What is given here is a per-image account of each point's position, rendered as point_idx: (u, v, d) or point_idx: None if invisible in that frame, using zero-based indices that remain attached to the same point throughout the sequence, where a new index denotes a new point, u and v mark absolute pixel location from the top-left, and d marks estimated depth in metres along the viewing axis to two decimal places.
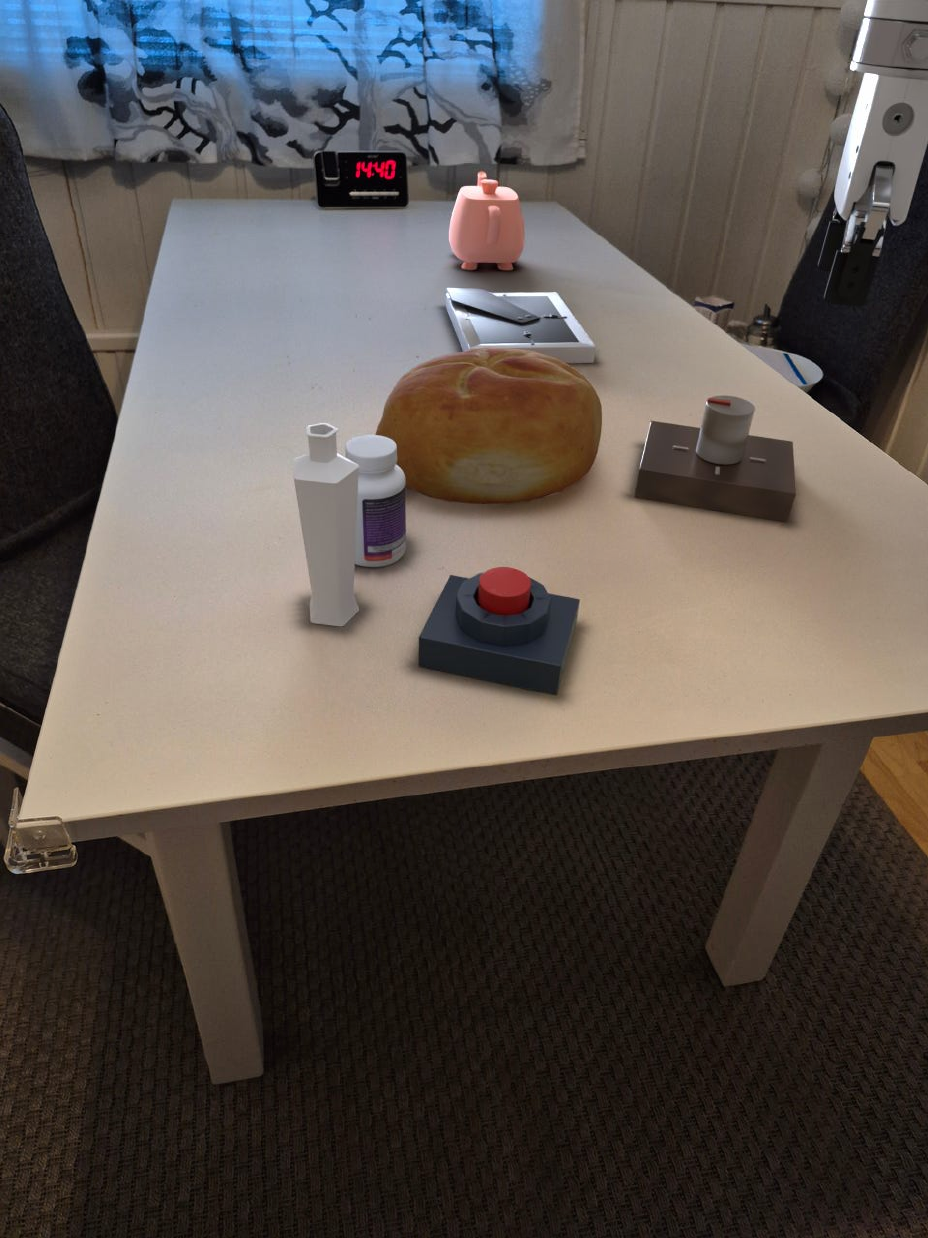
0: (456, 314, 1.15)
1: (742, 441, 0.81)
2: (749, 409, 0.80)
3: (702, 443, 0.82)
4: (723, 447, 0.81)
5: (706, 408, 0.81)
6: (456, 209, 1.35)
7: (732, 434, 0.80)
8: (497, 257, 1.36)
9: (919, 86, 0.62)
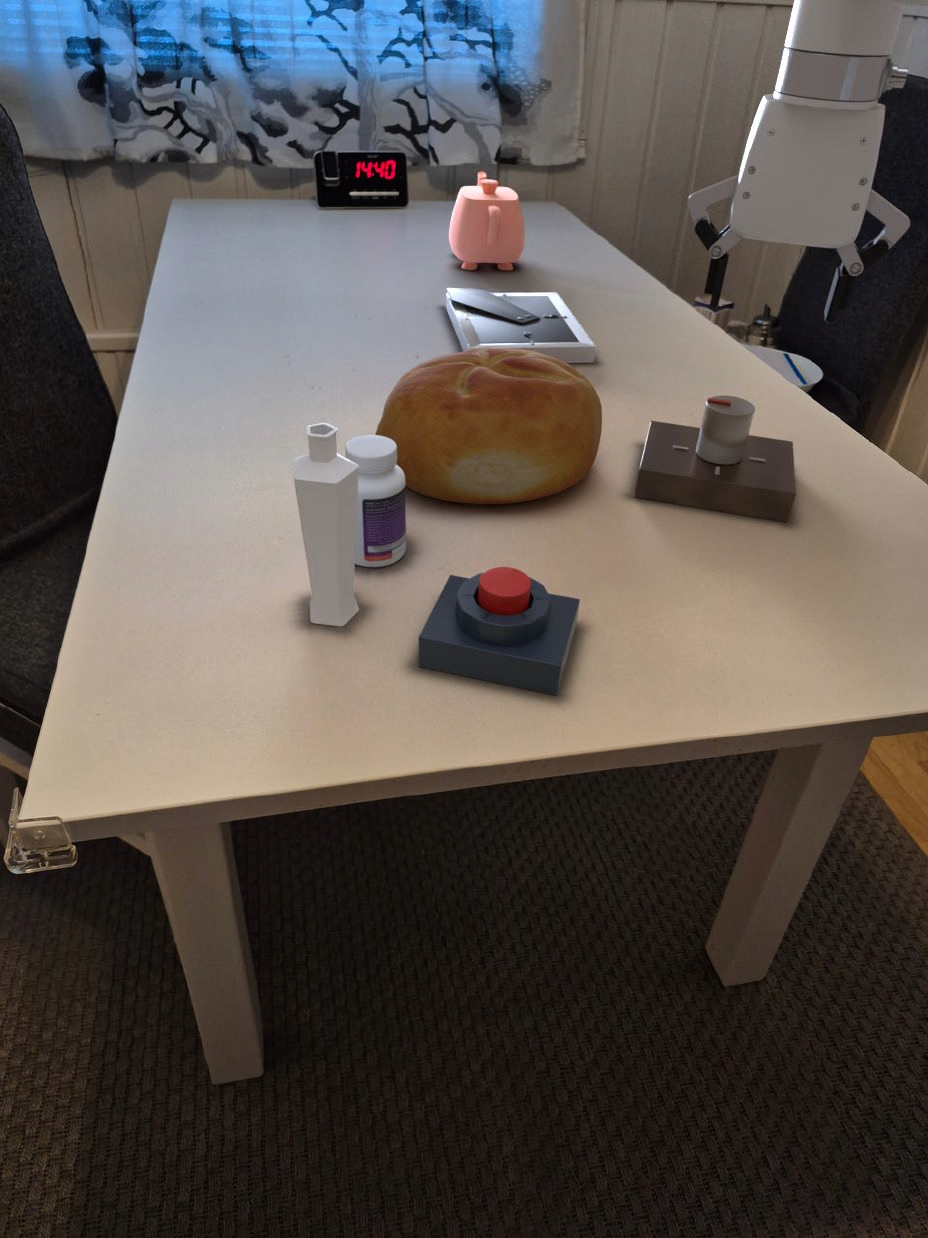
0: (456, 314, 1.15)
1: (742, 441, 0.81)
2: (749, 409, 0.80)
3: (702, 443, 0.82)
4: (723, 447, 0.81)
5: (706, 408, 0.81)
6: (456, 209, 1.35)
7: (732, 434, 0.80)
8: (497, 257, 1.36)
9: None
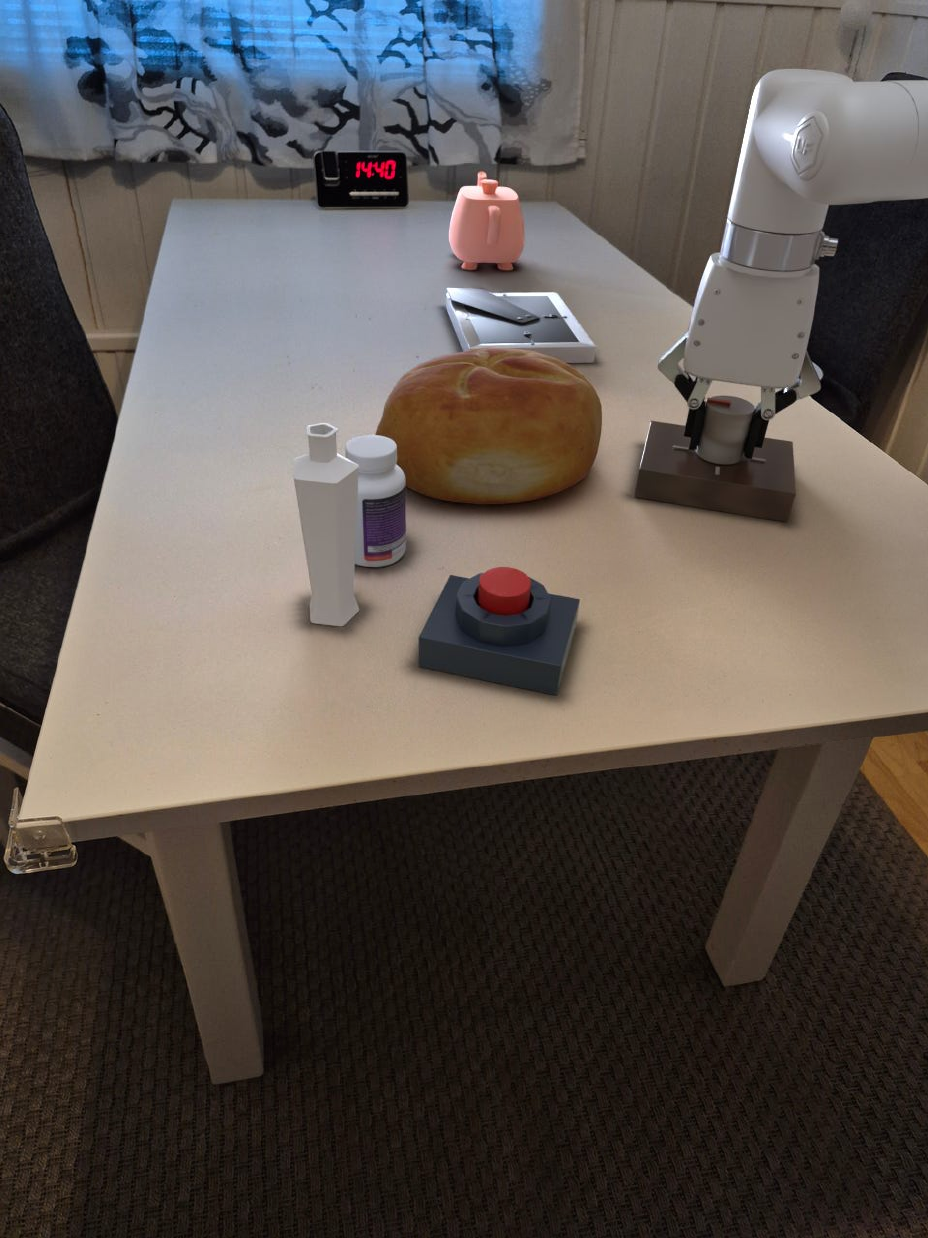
0: (456, 314, 1.15)
1: (742, 441, 0.81)
2: (749, 409, 0.80)
3: (702, 443, 0.82)
4: (723, 447, 0.81)
5: (706, 408, 0.81)
6: (456, 209, 1.35)
7: (732, 434, 0.80)
8: (497, 257, 1.36)
9: None
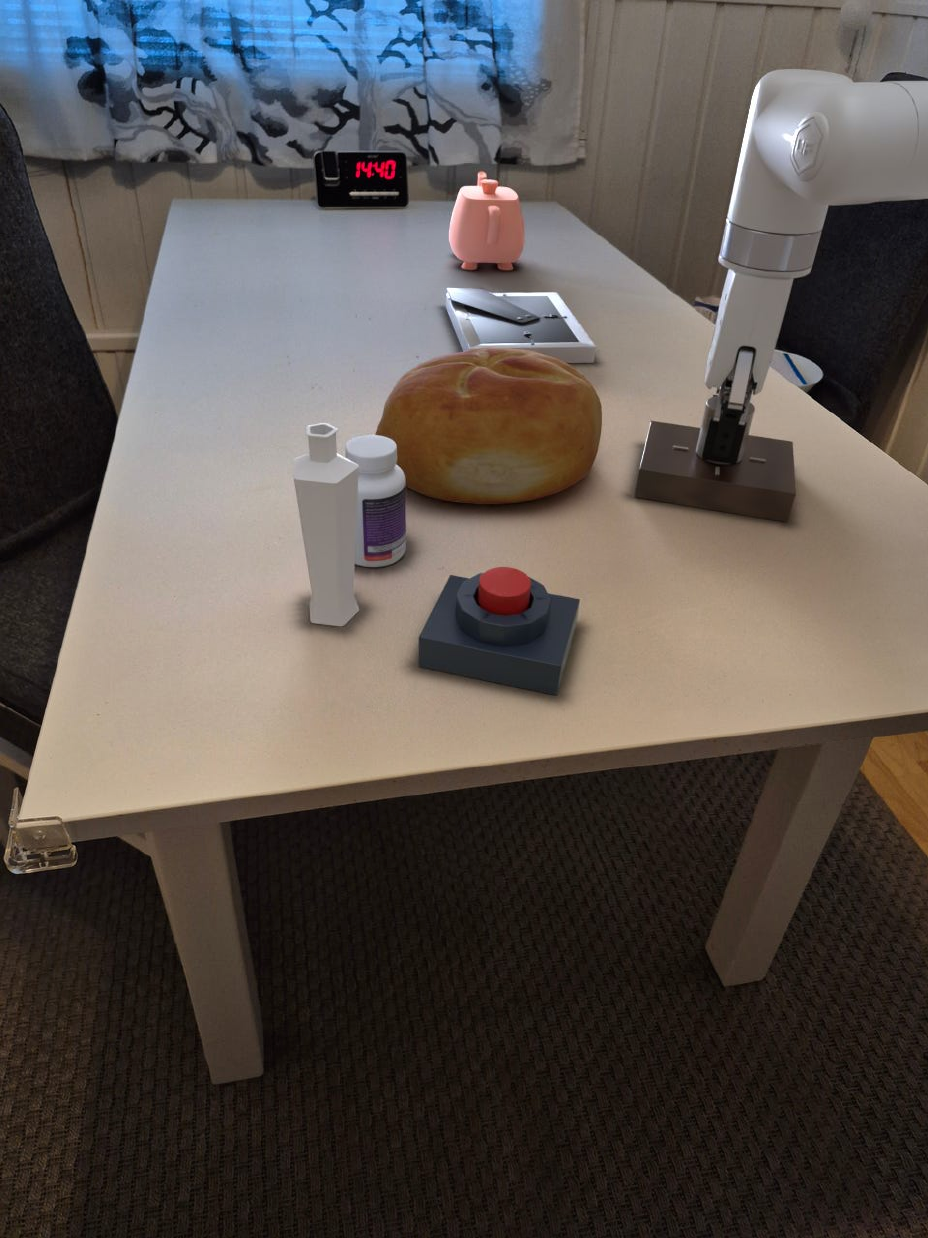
0: (456, 314, 1.15)
1: None
2: None
3: None
4: None
5: None
6: (456, 209, 1.35)
7: None
8: (497, 257, 1.36)
9: None
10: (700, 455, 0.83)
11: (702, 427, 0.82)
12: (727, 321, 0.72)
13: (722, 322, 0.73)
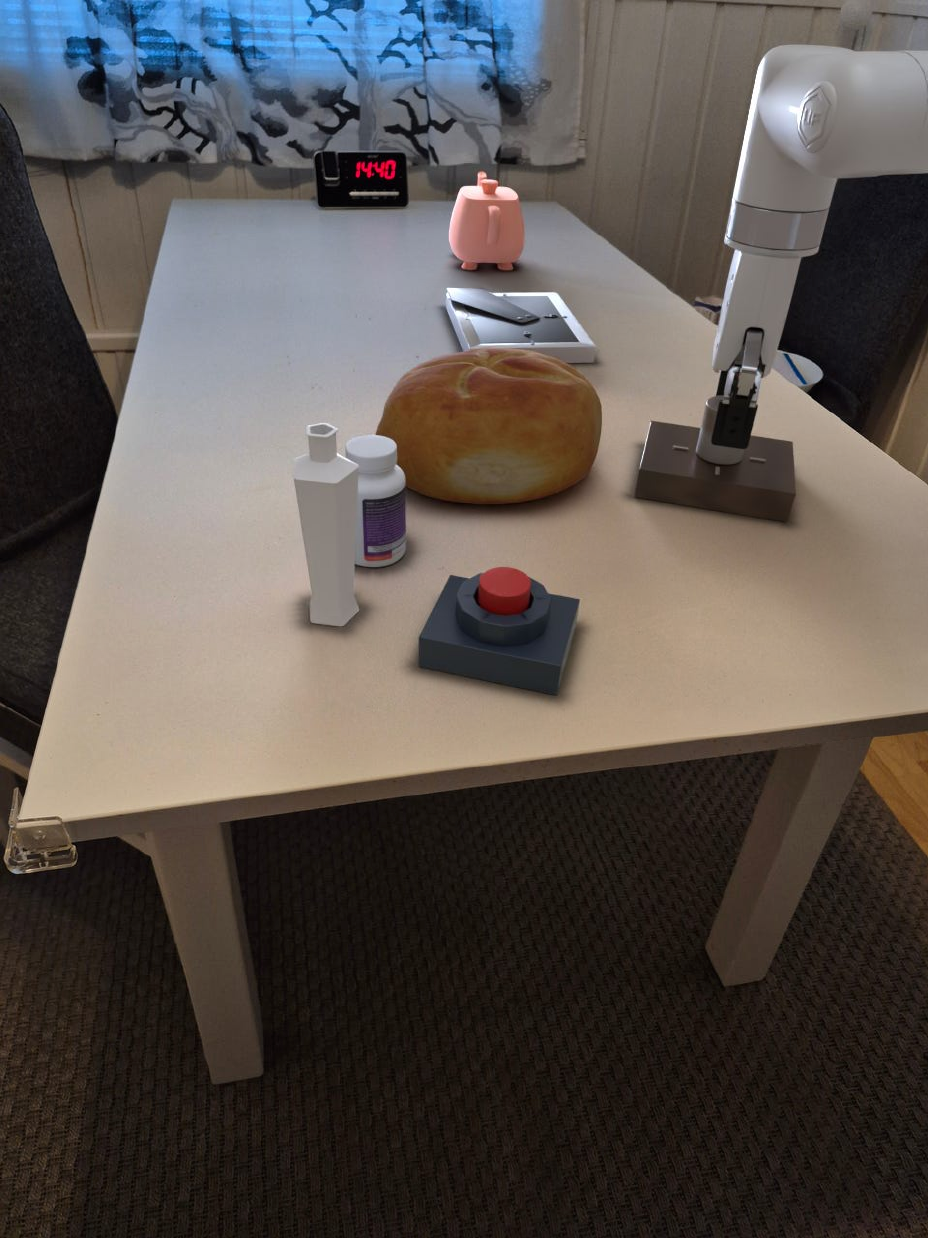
0: (456, 314, 1.15)
1: None
2: None
3: (734, 450, 0.81)
4: None
5: None
6: (456, 209, 1.35)
7: None
8: (497, 257, 1.36)
9: None
10: (700, 455, 0.83)
11: (702, 427, 0.82)
12: (734, 302, 0.71)
13: (729, 303, 0.71)
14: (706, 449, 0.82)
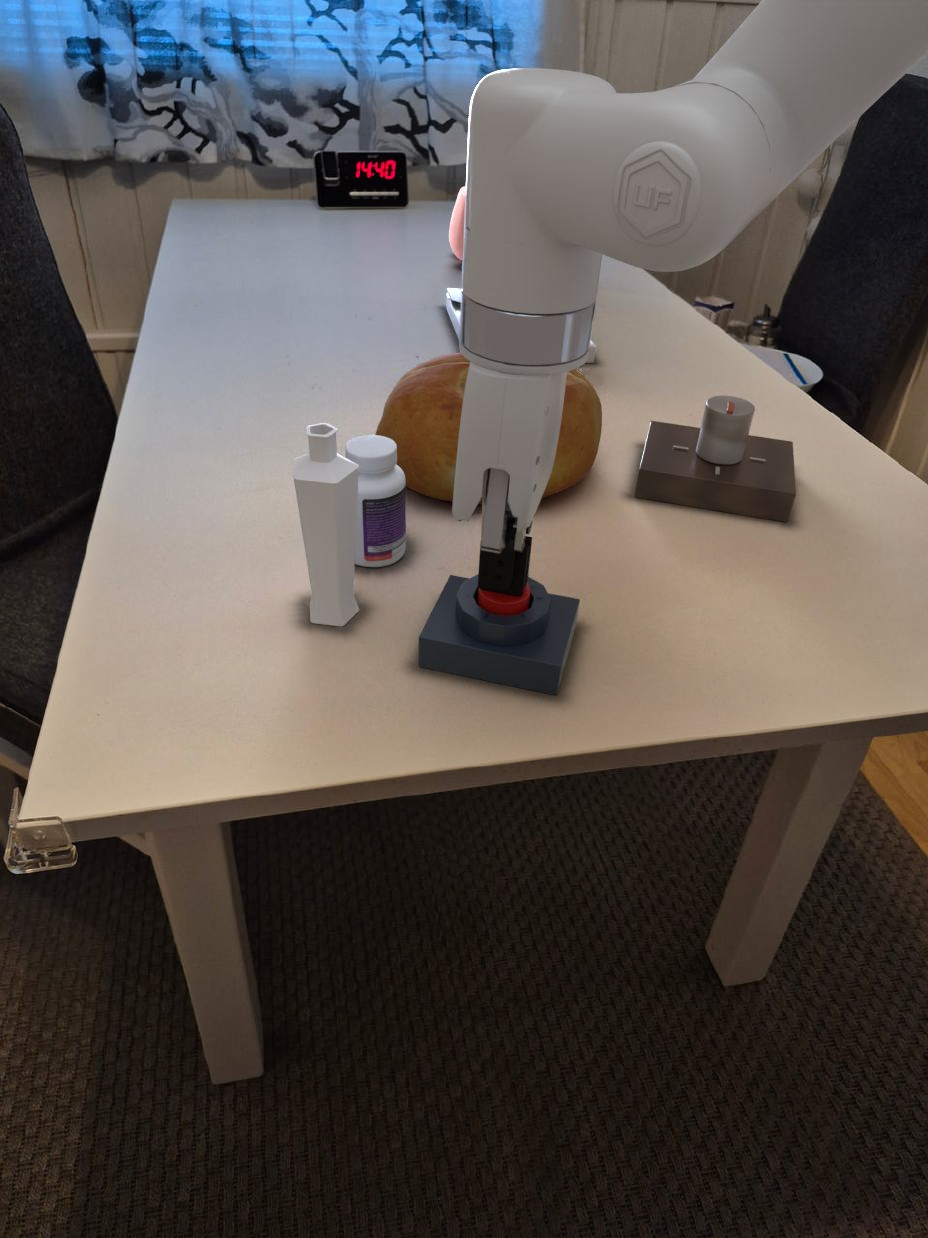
0: (456, 314, 1.15)
1: None
2: (736, 398, 0.82)
3: (734, 450, 0.81)
4: None
5: (736, 419, 0.79)
6: (456, 209, 1.35)
7: None
8: None
9: None
10: (700, 455, 0.83)
11: (702, 427, 0.82)
12: (465, 434, 0.50)
13: (459, 434, 0.50)
14: (706, 449, 0.82)
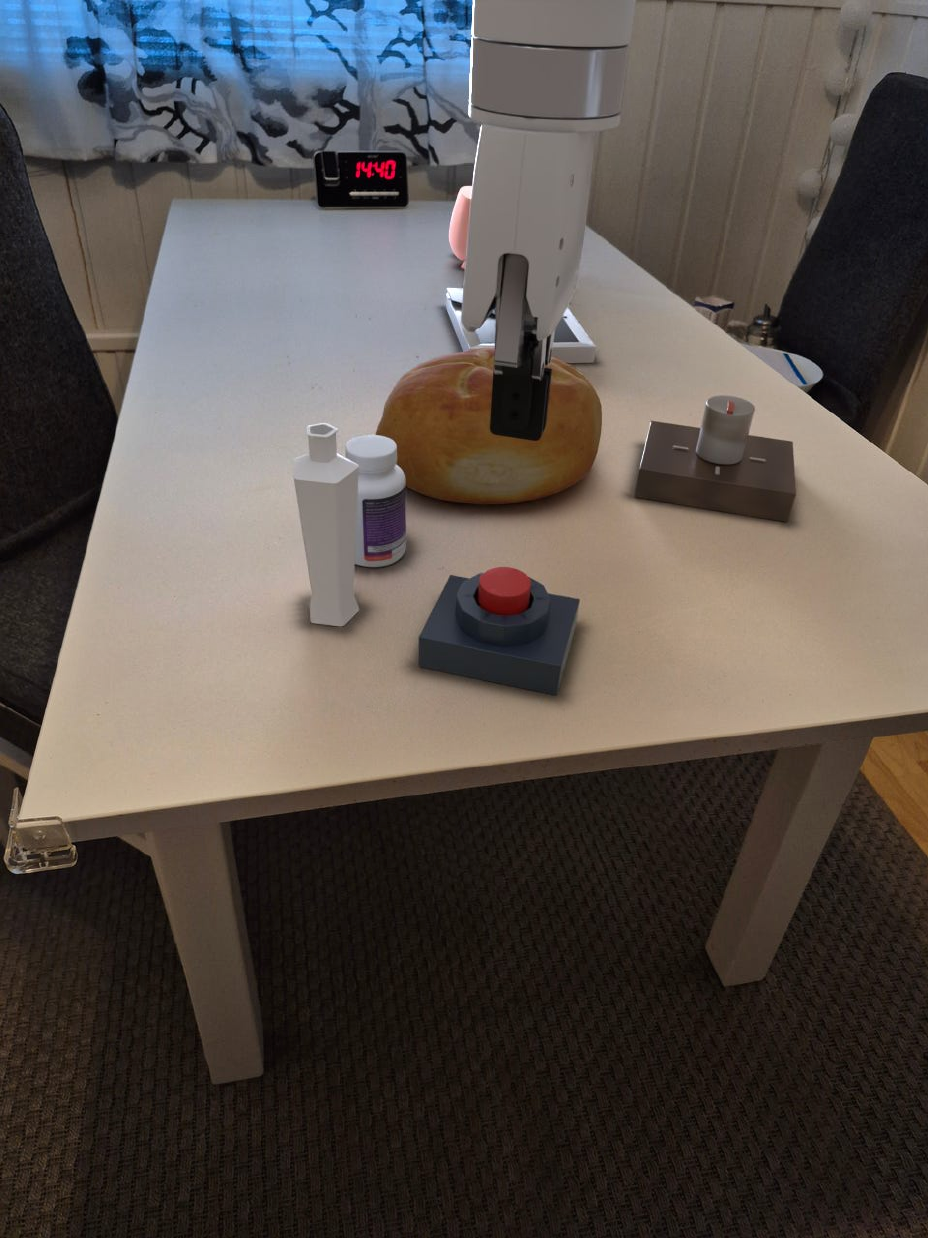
0: (456, 314, 1.15)
1: None
2: (736, 398, 0.82)
3: (734, 450, 0.81)
4: None
5: (736, 419, 0.79)
6: (456, 209, 1.35)
7: None
8: None
9: None
10: (700, 455, 0.83)
11: (702, 427, 0.82)
12: (476, 211, 0.43)
13: (470, 213, 0.43)
14: (706, 449, 0.82)
